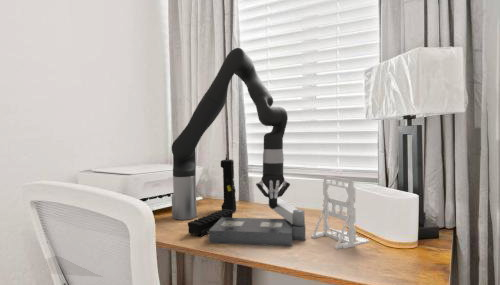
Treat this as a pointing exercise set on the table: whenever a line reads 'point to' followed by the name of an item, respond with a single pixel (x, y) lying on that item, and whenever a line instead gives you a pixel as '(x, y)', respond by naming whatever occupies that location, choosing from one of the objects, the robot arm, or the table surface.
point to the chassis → (255, 231)
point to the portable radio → (228, 185)
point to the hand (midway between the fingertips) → (272, 208)
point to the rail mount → (207, 222)
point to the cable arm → (290, 213)
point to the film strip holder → (340, 215)
